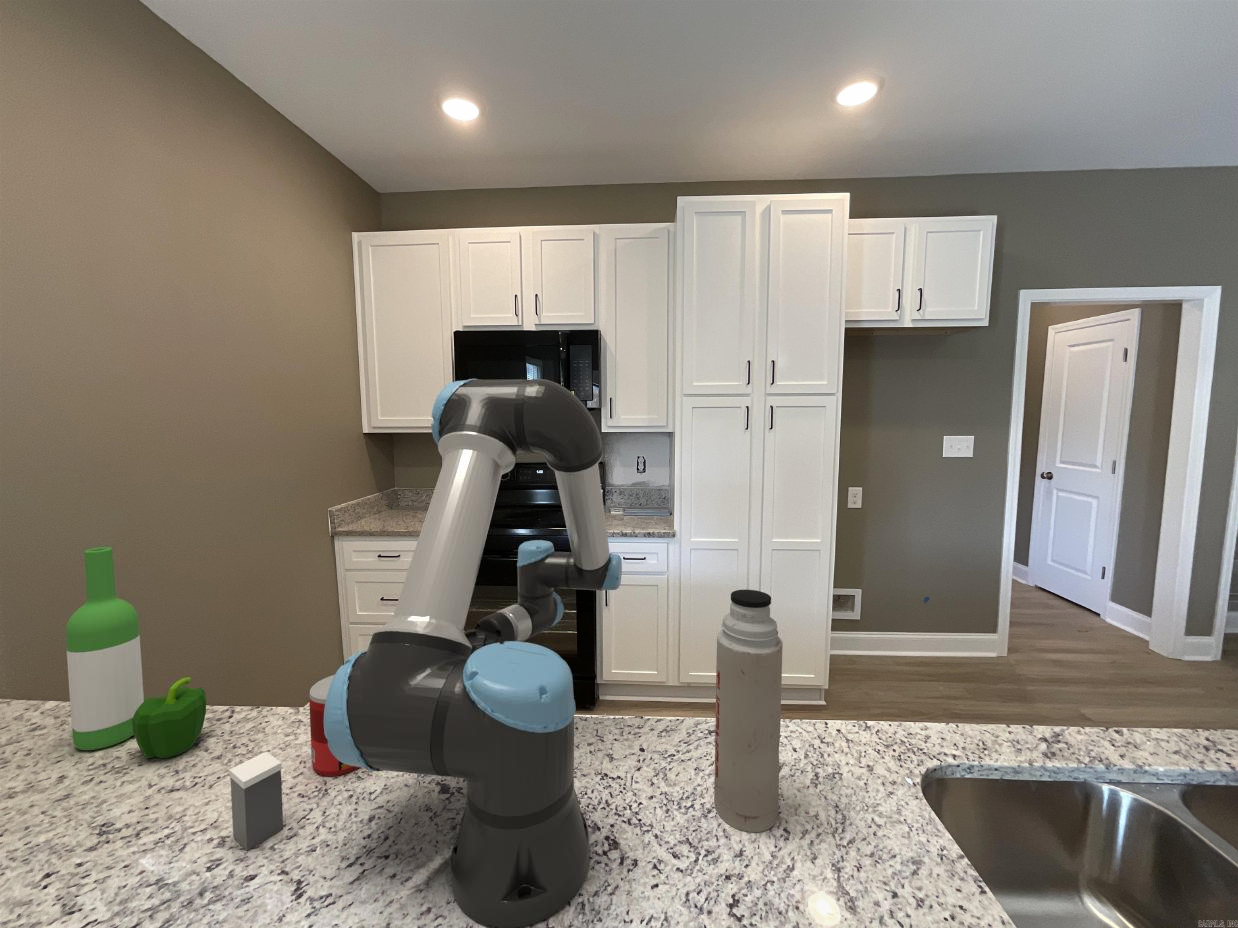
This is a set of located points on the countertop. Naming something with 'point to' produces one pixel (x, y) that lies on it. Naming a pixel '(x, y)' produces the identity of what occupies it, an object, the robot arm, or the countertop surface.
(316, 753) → the canned food
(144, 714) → the bell pepper
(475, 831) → the robot arm
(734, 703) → the thermos bottle
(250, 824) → the toggle
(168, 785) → the countertop surface
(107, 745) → the wine bottle
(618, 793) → the countertop surface
